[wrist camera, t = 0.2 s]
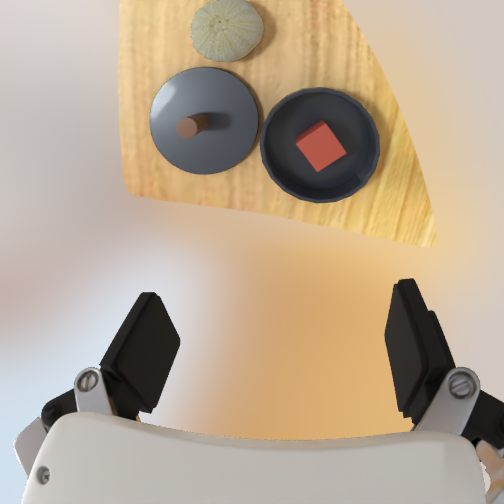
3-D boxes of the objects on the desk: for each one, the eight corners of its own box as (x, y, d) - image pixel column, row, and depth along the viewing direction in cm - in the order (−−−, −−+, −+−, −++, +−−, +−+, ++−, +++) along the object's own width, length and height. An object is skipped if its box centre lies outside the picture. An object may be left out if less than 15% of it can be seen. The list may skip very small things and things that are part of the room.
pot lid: (143, 84, 34) (118, 87, 28) (248, 56, 30) (239, 51, 25) (167, 179, 42) (148, 196, 36) (267, 164, 38) (262, 179, 33)
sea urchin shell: (179, 58, 30) (176, 12, 22) (205, 28, 31) (208, -14, 23) (245, 76, 30) (255, 29, 23) (265, 44, 32) (277, 2, 24)
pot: (255, 94, 33) (250, 95, 30) (366, 85, 30) (375, 86, 27) (272, 194, 41) (269, 207, 37) (372, 187, 38) (380, 199, 34)
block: (295, 137, 35) (295, 143, 32) (322, 118, 33) (325, 123, 30) (314, 162, 37) (317, 172, 33) (341, 145, 35) (347, 153, 31)
